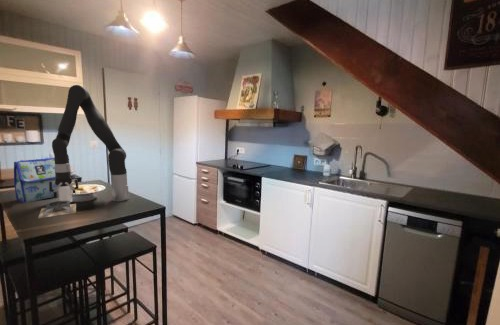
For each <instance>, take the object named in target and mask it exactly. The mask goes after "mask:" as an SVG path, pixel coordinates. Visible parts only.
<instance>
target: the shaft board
mask: <svg viewBox="0 0 500 325" xmlns="http://www.w3.org/2000/svg"><path fill="white" fill-rule="evenodd" d="M70 208H72V212H70V213H65V212H63V211H57V212H54V213H52V214H51V215H49V216H43V213H42V212H44V211H46V210H47V207H42V208H41V210H40V212H39V215H38V218H37V219H43V218H48V217H49V218H50V217H55V216H62V215H69V214H75V213H77V203H72V204H71V203H70Z"/></svg>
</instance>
